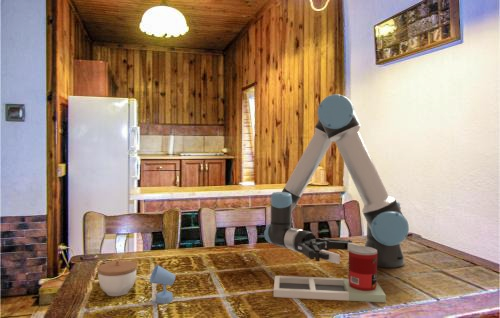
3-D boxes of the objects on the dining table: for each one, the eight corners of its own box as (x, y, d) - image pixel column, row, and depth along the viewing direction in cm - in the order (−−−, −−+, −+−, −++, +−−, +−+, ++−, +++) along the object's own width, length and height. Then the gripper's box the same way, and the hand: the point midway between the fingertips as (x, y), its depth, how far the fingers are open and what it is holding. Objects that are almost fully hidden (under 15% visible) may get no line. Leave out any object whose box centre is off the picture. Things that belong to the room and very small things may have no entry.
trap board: (375, 286, 114) (375, 279, 114) (385, 302, 102) (385, 295, 102) (275, 281, 117) (275, 275, 117) (273, 296, 105) (273, 290, 105)
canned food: (378, 292, 104) (379, 253, 103) (349, 290, 105) (349, 251, 105) (374, 282, 111) (375, 246, 111) (347, 280, 113) (348, 245, 112)
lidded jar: (144, 288, 111) (144, 257, 111) (120, 302, 101) (120, 268, 101) (115, 283, 115) (114, 253, 114) (89, 296, 104) (89, 263, 104)
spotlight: (151, 305, 99) (176, 302, 101) (150, 268, 98) (176, 266, 101) (149, 298, 103) (173, 295, 106) (149, 263, 103) (173, 260, 105)
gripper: (323, 245, 135) (375, 259, 118) (274, 258, 119) (326, 276, 102) (324, 225, 134) (376, 236, 118) (274, 235, 119) (326, 249, 102)
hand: (353, 255), depth 110 cm, fingers open, 13 cm apart
